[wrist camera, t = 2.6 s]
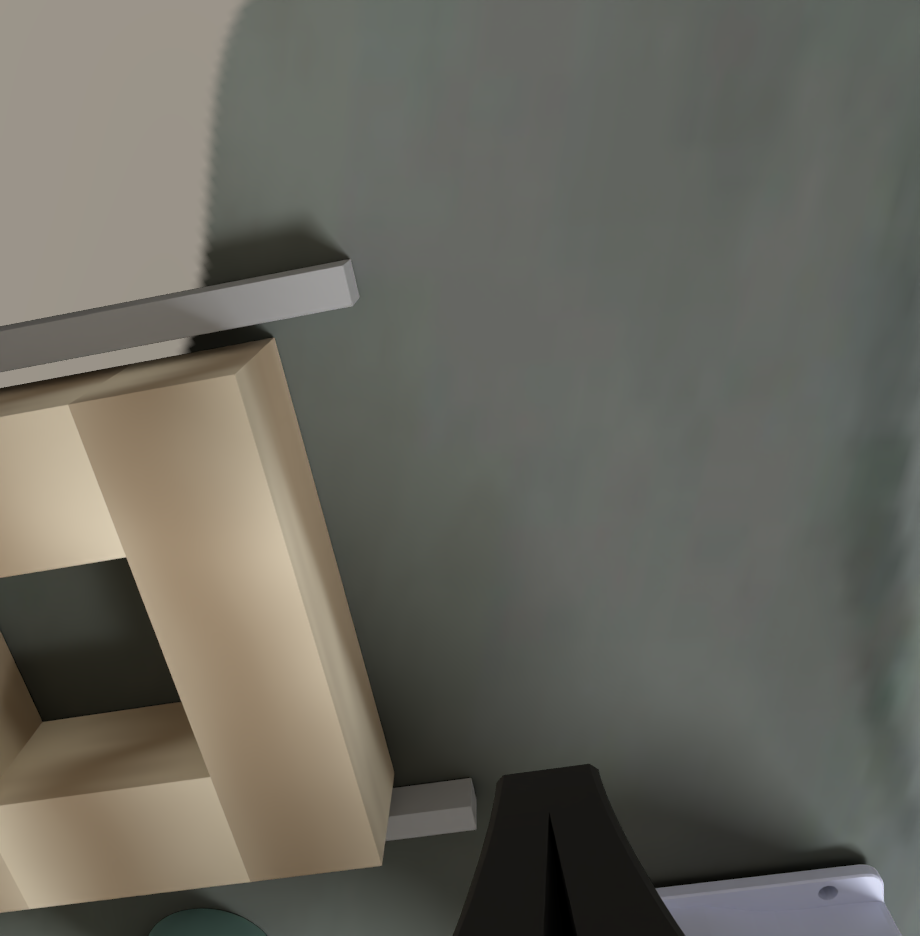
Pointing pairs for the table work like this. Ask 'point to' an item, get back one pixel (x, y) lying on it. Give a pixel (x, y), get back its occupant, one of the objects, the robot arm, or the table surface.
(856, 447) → the table surface
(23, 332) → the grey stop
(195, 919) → the dowel
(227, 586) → the socket block
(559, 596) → the table surface
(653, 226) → the table surface
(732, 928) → the robot arm
